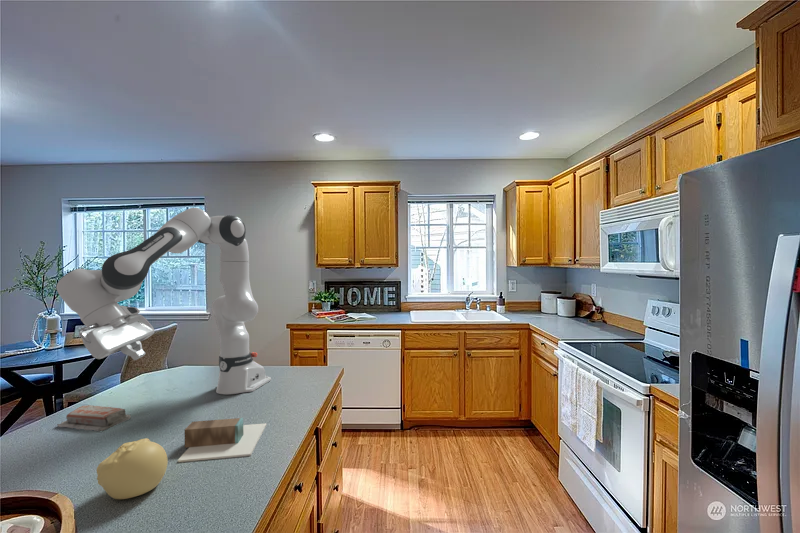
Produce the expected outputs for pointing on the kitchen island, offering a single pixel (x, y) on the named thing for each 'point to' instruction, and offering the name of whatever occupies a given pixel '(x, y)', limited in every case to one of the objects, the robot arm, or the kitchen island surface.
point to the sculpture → (132, 469)
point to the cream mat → (227, 446)
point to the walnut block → (214, 432)
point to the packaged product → (95, 418)
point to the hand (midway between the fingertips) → (140, 357)
